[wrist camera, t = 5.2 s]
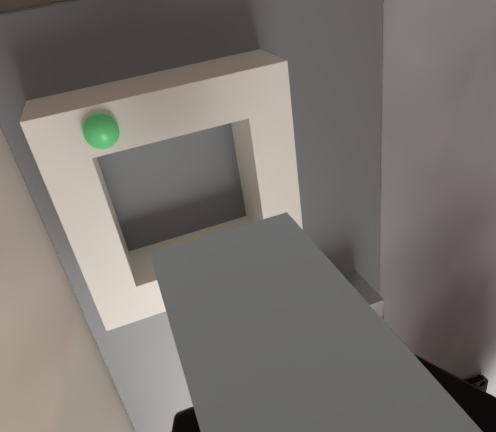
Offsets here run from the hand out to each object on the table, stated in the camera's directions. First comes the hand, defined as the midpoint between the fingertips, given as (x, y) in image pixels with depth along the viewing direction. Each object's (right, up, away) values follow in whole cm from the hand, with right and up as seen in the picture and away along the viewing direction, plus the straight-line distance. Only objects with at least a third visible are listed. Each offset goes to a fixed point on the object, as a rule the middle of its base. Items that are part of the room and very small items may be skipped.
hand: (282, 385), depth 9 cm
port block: (-3, +5, +9) cm, 10 cm away
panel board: (-1, +2, +12) cm, 12 cm away
